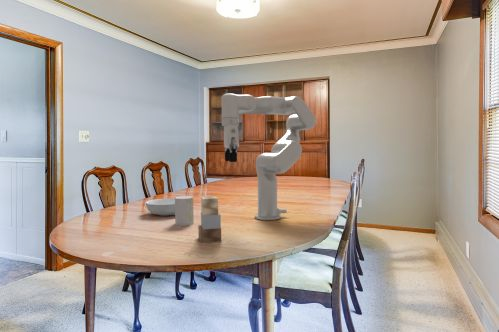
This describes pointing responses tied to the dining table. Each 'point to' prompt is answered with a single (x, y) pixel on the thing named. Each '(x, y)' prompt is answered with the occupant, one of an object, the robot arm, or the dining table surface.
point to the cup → (184, 210)
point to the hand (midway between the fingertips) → (230, 161)
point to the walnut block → (209, 234)
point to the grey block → (211, 221)
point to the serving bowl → (161, 206)
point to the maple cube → (209, 205)
